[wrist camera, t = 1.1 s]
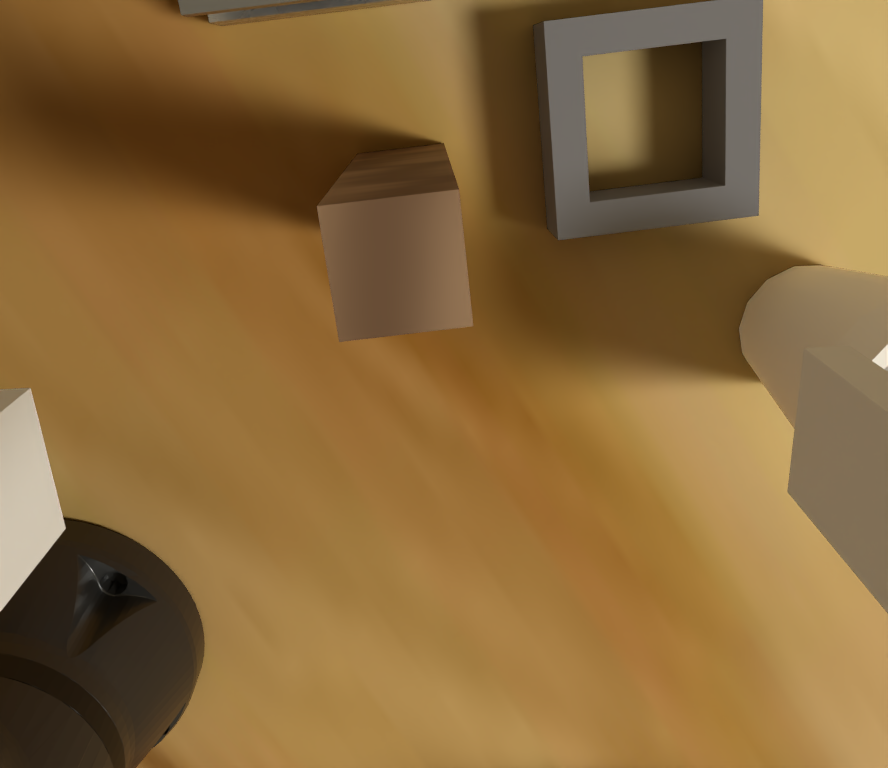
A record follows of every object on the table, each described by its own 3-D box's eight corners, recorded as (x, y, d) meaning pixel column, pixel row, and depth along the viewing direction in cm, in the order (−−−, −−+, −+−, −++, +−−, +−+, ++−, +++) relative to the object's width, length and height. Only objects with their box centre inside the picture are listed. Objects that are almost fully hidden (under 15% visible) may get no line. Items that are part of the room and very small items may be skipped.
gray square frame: (547, 228, 40) (558, 240, 37) (533, 25, 36) (543, 21, 34) (733, 205, 40) (758, 215, 37) (735, 0, 36) (763, -6, 34)
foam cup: (697, 260, 40) (822, 339, 28) (884, 210, 40) (1093, 269, 28) (723, 431, 44) (845, 567, 32) (896, 386, 43) (1088, 508, 31)
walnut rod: (369, 239, 39) (339, 341, 24) (357, 153, 38) (316, 206, 23) (453, 229, 39) (473, 326, 24) (443, 143, 38) (459, 189, 23)
